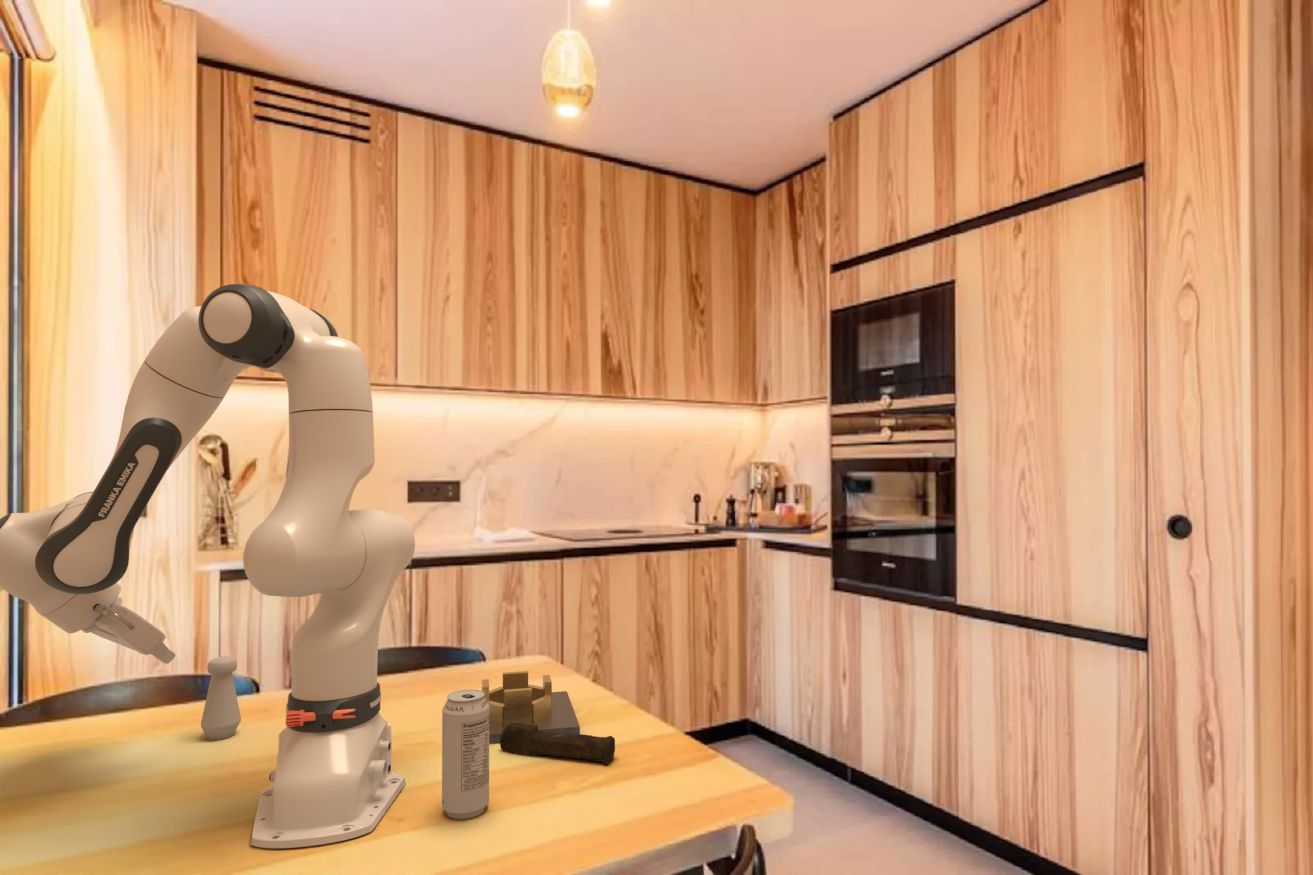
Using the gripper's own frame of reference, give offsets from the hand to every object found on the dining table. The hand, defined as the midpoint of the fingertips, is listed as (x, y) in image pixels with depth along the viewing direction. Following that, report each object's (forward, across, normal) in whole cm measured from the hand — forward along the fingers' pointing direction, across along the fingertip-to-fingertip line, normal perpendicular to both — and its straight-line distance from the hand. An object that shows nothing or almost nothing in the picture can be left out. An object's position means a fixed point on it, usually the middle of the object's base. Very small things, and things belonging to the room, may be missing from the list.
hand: (158, 654), depth 118 cm
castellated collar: (+42, -35, -20) cm, 58 cm away
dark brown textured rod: (+37, -52, -14) cm, 66 cm away
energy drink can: (+23, -55, -1) cm, 60 cm away
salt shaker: (+18, 0, +4) cm, 18 cm away
